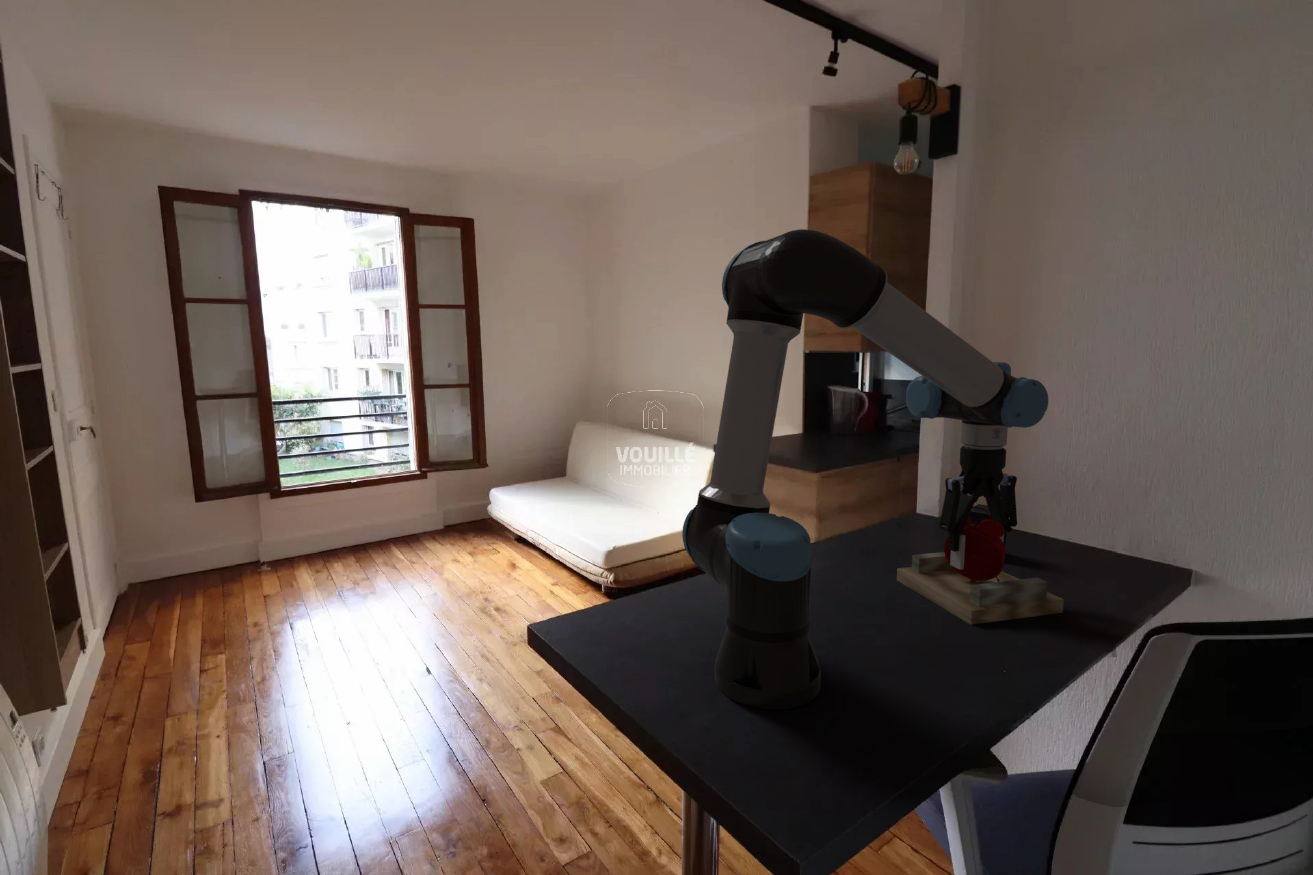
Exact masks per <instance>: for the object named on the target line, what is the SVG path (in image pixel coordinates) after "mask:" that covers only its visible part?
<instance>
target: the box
mask: <svg viewBox="0 0 1313 875" xmlns="http://www.w3.org/2000/svg"><path fill="white" fill-rule="evenodd" d="M973 506H974V507H979V508H982V509H985V510H986V511H987V512H988V513H989V514H990V512H989V508H988V505H987V504H981V503H978V504H976V505H973ZM969 517H970V518H971V520H972V522H971V524H969V526H971V525H975V524H974V522H977V524H976V525H977V526H979V524H980V523H981V522H982V521H983V520H986V519H989V515H988V514H987V513H986V512H985V511H983V510H981V509H978V508H972V510H971V512H970V514H969ZM990 517H991V515H990ZM989 520H990V519H989ZM991 520H992V518H991Z"/></svg>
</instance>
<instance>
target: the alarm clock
mask: <svg viewBox="0 0 1313 875" xmlns="http://www.w3.org/2000/svg"><path fill="white" fill-rule="evenodd" d="M974 506H975V505H973V507H972V508H978V509H981V510H983V511H985V512H986V513H987V514H988V515H989V519H990V520H989V519H986V520H983V521H982V522H981V523H980V524H979V526H977V525H976V524H977V522H974V524H975V525H971V526H969V524H971V522H972V520H971V518H970V517H968V519H967V522H966V524H965V526H964V529H963V531H962V534H963V535H965V553H964V569H962V570H960V569H958V568H956V567H954V566H951V567H952V568H953V569H954V570H955V571H957V572H958V573H959V574H961V575H963V576H964V577H967V578H969V579H971V581H970V582H974V583H975V582H976V580H977V581H986V580H991V579H993V578H995V577H996V579H997V581H998V582H999V581H1000V580H999V579H998V578H997V576H998V575H999V574H1000V573H1001V571H1003V570H1004V566H1005V559H1006V552H1007V551H1006V545H1005V546H1004V543H1003V542H1002V540H1001V539H1000V537H1002V536H1003V534H1004V531H1005V530H1004V527H1003V526H1002V525H1001V524H1000V523H998V522H996V521H993V520H991V517H990V514H989V513H988V512H987V511H986V510H985V509H982V508H979V507H974ZM955 528H956V527H955ZM948 543H949V536H948V537H947V538H946V540H945V542H944V545H943V546H944V547H943V552H944V553H945V557H946V559H947V561H948V563H949V564H950V558H951V550H950V549H949V547H948Z"/></svg>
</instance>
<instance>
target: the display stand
mask: <svg viewBox="0 0 1313 875" xmlns="http://www.w3.org/2000/svg"><path fill="white" fill-rule="evenodd" d="M997 578H998V579H999V580H1000V581H999V582H998V581H997V579H996V577H995V578H993V579H991V580H986V581H977V580H976V582H975V583H974V582H970V581H971V579H969V578H967V577H964V576H963V575H961V574H959V573H958V572H957V571H955V570H954V569H953V568H952V567H951V565H950V564H949V563H948V561H947V559H946V557H945V553H944V551H940V552H939V551H938V552H931V553H929V552H928V553H921V554H920V553H919V554H912V557H911V566H908V567H907V566H906V567H900V568H899V567H898V568H897V569H896V581H897V582H899V583H901V584H903V585H904V586H905V587H907V588H909V589H911V590H912V591H914V592H916V593H917V594H919V595H921V596H923V597H924V598H925V599H927V600H929V601H930V602H933V603H934V604H935V605H937V606H939V607H940V608H942V609H944V610H946V611H947V612H949V613H950V614H952V615H954V616H955V617H957V618H959V619H961V620H962V621H963V622H965V623H967V624H969V625H970V626H972V625H979V624H980V625H981V624H985V623H994V622H1001V621H1009V620H1015V619H1016V620H1017V619H1024V618H1031V617H1040V616H1046V615H1054V614H1062V613H1063V611H1064V600H1065V599H1064V598H1062V597H1060V596H1057V595H1056V594H1053V593H1051V592H1049V591H1048V581H1046V580H1044V579H1041V578H1040V577H1032V578H1031V577H1030V578H1022V579H1020V578H1018V577H1015V576H1013V575H1011V574H1009V573H1006V572H1004V571H1003V570H1002V571H1001V573H1000V574H999V575H998V576H997Z"/></svg>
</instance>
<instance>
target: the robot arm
mask: <svg viewBox="0 0 1313 875" xmlns="http://www.w3.org/2000/svg"><path fill="white" fill-rule="evenodd" d="M888 277H889V276H888V274H887V272H886V270H885V269H884V268H882V267H881V266H880V265H878V264H877V263H876V262H875V261H873V260H872V259H870V258H869V257H868V256H866V254H863V253H862V252H860V251H859V250H857V249H856V248H854V247H853V246H851V245H849V244H848V243H846V242H844V241H842V240H840V239H839V238H837V237H834V236H832V235H830V234H828V233H824V232H821V231H818V230H814V229H804V228H803V229H795V230H793V229H792V230H790V231H787V232H785V233H782V234H779V235H778V236H775V237H772V238H768V239H766V240H761V241H757V242H754V243H752V244H749V245H747V246H745V248H743V249H741V250H740V251H739V252H737V253H736V254H735V255H734V256H733V257H732V258H731V260H730V261H729V263H728V264H727V266H726V268H725V270H724V272H723V275H722V282H721V292H722V298H723V300H724V301H725V302H726V305H727V308H728V310H727V317H726V325H727V327H728V328H729V329H730V331H731V332H732V334H733V340H732V345H731V346H732V347H731V353H730V358H729V364H728V371H727V376H726V383H725V388H724V395H723V401H722V405H721V406H722V407H721V408H722V409H721V413H720V419H719V426H718V430H717V431H718V433H717V438H716V444H715V451H714V457H713V462H712V469H711V475H710V481H709V482H708V484H707V485H706V484H705V486H704V487H703V488H701V489H700V490H699V492H698V497H697V502H696V505H695V506H694V507H693V508H692V509H690V510H689V512H688V513H687V515H686V517H685V519H684V522H683V526H682V533H681V534H682V535H681V536H682V537H681V538H682V542H683V546H684V548H685V551H686V553H687V554H688V557H690V559H691V561H692V562H693V563H694V564H695V565H696V567H697V568H698V569H699V570H700V571H701V572H704V573H705V574H707V575H708V576H709V577H710V578H712V580H713V581H715V582H716V583H717V584H718V585H719V586H721V588H723V590H725V591H726V626H725V631H724V634H723V636H722V637H723V638H722V639H721V642H720V645H719V649H718V650H717V655H716V657H715V660H714V682H715V685H716V687H717V689H719V691H720V692H721V693H722V694H724V695H725V696H727V698H729V699H730V700H732V701H735V702H737V703H739V704H741V705H744V706H747V707H751V708H754V709H755V708H756V709H762V710H774V711H777V710H779V711H781V710H788V709H789V710H790V709H794V708H798V707H802V706H805V705H807V704H808V703H811V701H813V700H815V699H816V697H818V695H819V693H820V692H821V688H822V670H821V666H820V663H819V659H818V657H817V653H816V650H815V647H814V645H813V641H812V638H811V634H810V617H811V616H810V615H811V614H810V613H811V611H810V610H811V608H810V607H811V581H812V580H811V579H812V574H811V573H812V564H813V554H812V544H811V537H810V535H809V532H808V530H807V529H806V528H805V527H804V526H803V525H802V524H800V522H798V521H796V520H794V519H792V518H789V517H788V516H784V515H782V516H778V515H777V514H775V513H770V510H771V502H770V500H769V498H767V496H766V494H765V492H764V488H765V482H766V476H767V469H768V464H769V458H770V452H771V446H772V440H773V434H774V427H775V423H776V417H777V412H778V411H777V410H778V404H779V400H780V394H781V389H782V383H783V376H784V371H785V370H784V369H785V365H786V360H787V352H788V346H789V343H790V342H791V341H792V340H793V339H795V338H796V337H798V336H799V335H800V334H801V330H802V324H803V319H804V314H807V315H810V316H811V315H812V316H816V317H820V318H822V319H824V320H827V321H829V322H831V323H832V324H833V325H835V326H836V327H838V328H839V329H842V330H843V329H845V330H846V329H850V328H853V329H854V330H856V331H857V332H858V333H860V335H863V336H864V337H866V338H867V339H868V340H870V341H871V342H872V343H874V344H875V345H877V346H879V348H882V349H883V350H884V351H885V352H887V353H889V354H890V355H891V356H893V357H894V358H896V359H897V360H899V361H900V362H902V363H903V364H905V365H906V366H907V367H909V368H910V369H912V370H913V371H914V372H916V373H918V374H919V375H920V376H916V377H915V378H913V379H912V380H910V382H909V384H908V385H907V388H906V390H905V391H906V392H905V402H906V407H907V409H908V410H909V412H910V413H911V414H912V415H913V416H915V417H916V418H919V419H930V420H933V419H935V418H936V419H937V418H938V419H939V418H942V419H951V420H959V421H961V429H960V430H961V431H960V443H961V444H962V446H961V447H960V449H959V451H960V452H959V465H960V467H961V470H960V474H959V476H958V477H954V478H951V477H946V478H945V480H944V484H945V494H944V498H943V499H944V501H943V506H942V510H941V516H940V520H939V526H938V528H939V529H940V530H942V531H945V532H946V533H948V537H949V543H948V547H949V549H950V550H951V558H950V565H951V566H954V567H956V568H958V569H960V570H962V569H964V553H965V535H963V534H962V531H963V529H964V526H965V524H966V522H967V519H968V517H969V514H970V512H971V510H972V507H973V506H975V505H974V504H975V503H976V502H978V501H979V498H981V497H984V499H985V502H986V505H988V508H989V512H990V515H991V518H992V520H993V521H996V522H998V523H1000V524H1001V525H1002V526H1003V527H1004V530H1005V531H1004V534H1003V536H1002V537H1000V539H1001V540H1002V542H1003V543H1004V546H1005V547H1006V543H1007V532H1008V533H1011V532H1012V530H1013V527H1017V526H1018V514H1017V500H1016V486H1017V480H1018V477H1017V476H1016V475H1012V474H1008V473H1003V469H1005V468H1006V463H1007V462H1006V461H1007V450H1006V448H1004V447H1005V446H1006V445H1008V443H1007V442H1008V429H1010V428H1022V429H1024V428H1032V427H1033V426H1035V425H1037V424H1038V423H1039V422H1040V421H1041V420H1042V419H1043V418H1044V415H1045V414H1046V412H1047V410H1048V406H1049V394H1048V390H1047V389H1046V387H1045V385H1044V384H1043V383H1042V382H1041V381H1039V380H1037V379H1034V378H1033V379H1032V378H1027V377H1024V376H1021V377H1015V376H1013V375H1012V368H1011V365H1010V364H1009V363H1007V362H1004V361H992V359H990V358H988V357H986V355H985V354H983V353H982V352H980V351H979V350H978V349H976V348H975V347H974V346H972V345H971V344H970V343H968V342H967V341H966V340H964V339H963V338H962V337H961V336H959V335H958V334H956V333H955V332H954V331H952V330H951V329H949V328H948V327H947V326H946V325H944V323H942V322H941V321H939V320H938V319H936V318H935V317H934V316H932V315H931V314H930V313H929V312H927V311H926V310H925V309H923V308H922V307H920V306H919V305H918V304H917V303H916V302H914V301H913V300H912V299H910V298H909V297H907V296H906V295H905V294H903V293H902V292H901V291H899V290H898V289H896V288H895V287H894V286H893V285H891V284H890V283H889V282H888ZM955 527H956V528H955Z"/></svg>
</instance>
